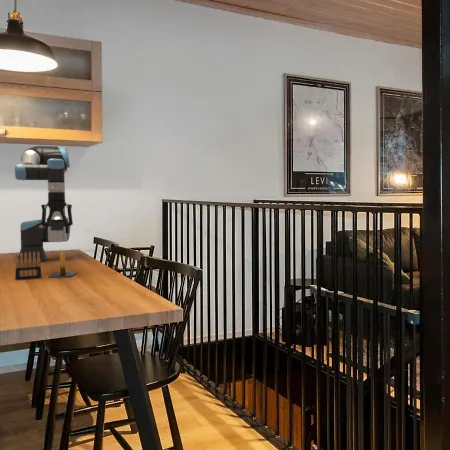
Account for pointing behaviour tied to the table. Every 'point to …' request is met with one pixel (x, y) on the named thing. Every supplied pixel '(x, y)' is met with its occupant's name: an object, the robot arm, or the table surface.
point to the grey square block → (56, 236)
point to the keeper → (62, 269)
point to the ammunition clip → (27, 266)
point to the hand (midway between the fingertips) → (57, 240)
